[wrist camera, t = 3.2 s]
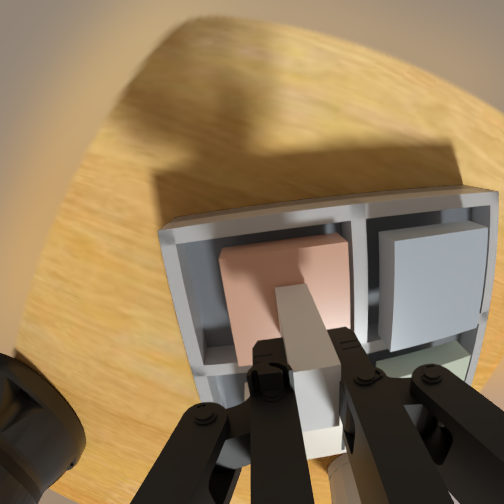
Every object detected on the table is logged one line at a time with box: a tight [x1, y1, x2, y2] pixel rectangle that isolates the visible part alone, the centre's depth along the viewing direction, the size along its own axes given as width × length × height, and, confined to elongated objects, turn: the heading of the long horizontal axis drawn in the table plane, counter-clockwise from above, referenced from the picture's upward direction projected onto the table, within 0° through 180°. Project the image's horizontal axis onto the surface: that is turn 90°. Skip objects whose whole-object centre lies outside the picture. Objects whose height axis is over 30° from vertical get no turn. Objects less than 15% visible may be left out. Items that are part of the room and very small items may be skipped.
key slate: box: [378, 220, 488, 352], centre depth 15 cm, size 6×6×2 cm
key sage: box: [376, 340, 471, 381], centre depth 17 cm, size 6×6×2 cm
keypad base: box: [158, 185, 499, 409], centre depth 19 cm, size 20×17×4 cm
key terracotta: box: [219, 233, 350, 366], centre depth 16 cm, size 6×6×2 cm
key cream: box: [244, 382, 347, 460], centre depth 18 cm, size 6×6×2 cm
